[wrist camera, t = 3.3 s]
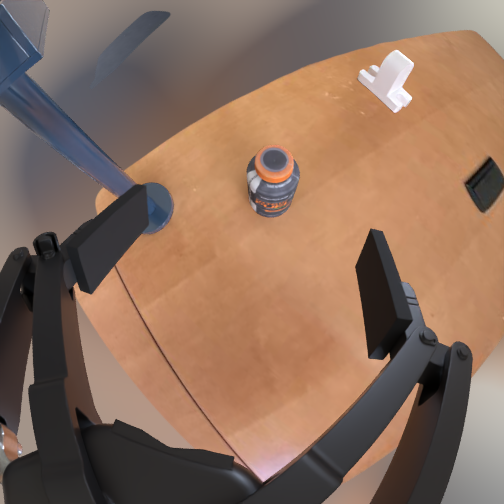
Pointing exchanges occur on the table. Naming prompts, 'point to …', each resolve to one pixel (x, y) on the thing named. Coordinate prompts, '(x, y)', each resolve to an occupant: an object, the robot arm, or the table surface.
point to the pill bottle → (272, 180)
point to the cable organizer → (389, 80)
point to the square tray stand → (50, 114)
